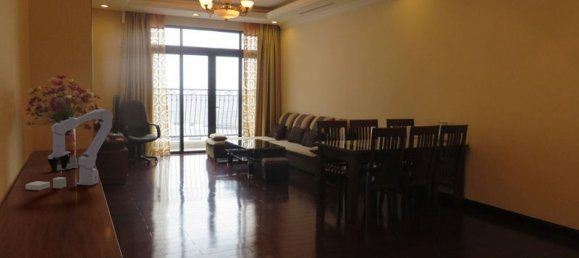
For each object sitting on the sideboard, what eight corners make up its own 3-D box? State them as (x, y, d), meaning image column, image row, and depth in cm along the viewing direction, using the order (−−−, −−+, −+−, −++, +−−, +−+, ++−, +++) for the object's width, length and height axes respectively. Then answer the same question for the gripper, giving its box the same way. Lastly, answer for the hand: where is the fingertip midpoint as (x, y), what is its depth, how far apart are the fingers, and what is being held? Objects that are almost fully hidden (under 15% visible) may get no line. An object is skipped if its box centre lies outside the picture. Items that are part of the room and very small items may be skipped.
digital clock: (52, 172, 268) (52, 155, 267) (48, 169, 274) (48, 153, 273) (79, 169, 279) (79, 153, 278) (75, 167, 285) (75, 151, 284)
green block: (66, 186, 234) (66, 177, 233) (60, 188, 229) (60, 179, 229) (58, 186, 234) (58, 177, 234) (53, 187, 230) (52, 178, 229)
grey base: (49, 187, 231) (49, 182, 231) (39, 191, 223) (39, 185, 223) (36, 186, 232) (36, 181, 232) (25, 189, 224) (25, 184, 224)
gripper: (61, 143, 237) (61, 167, 239) (42, 146, 223) (43, 172, 224) (72, 144, 236) (72, 168, 238) (55, 147, 222) (55, 173, 223)
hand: (59, 170), depth 231 cm, fingers open, 7 cm apart
